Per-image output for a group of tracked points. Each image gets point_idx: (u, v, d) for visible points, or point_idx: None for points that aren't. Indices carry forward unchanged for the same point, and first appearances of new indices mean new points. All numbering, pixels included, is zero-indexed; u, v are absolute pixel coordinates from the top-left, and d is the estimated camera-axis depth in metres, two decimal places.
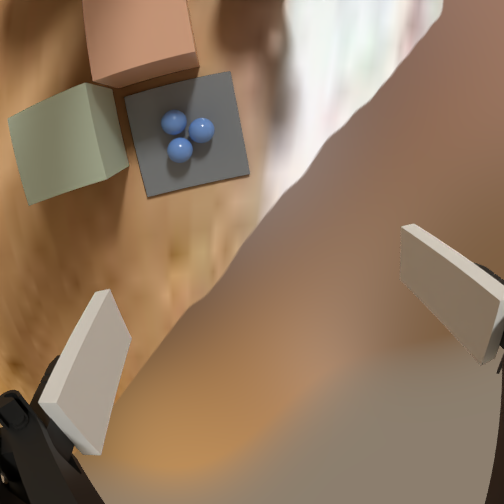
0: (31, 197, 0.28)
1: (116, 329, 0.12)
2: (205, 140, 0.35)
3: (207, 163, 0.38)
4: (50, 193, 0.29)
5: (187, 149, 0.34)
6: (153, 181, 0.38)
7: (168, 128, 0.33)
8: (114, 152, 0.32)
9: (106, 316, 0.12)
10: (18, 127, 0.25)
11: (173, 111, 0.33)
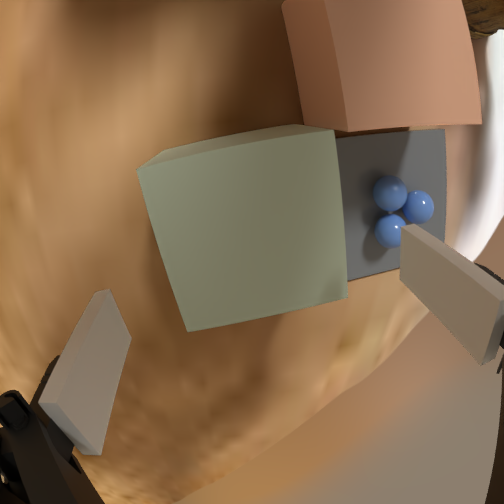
0: (195, 320, 0.19)
1: (116, 329, 0.12)
2: (424, 222, 0.25)
3: None
4: (238, 316, 0.19)
5: None
6: None
7: (391, 205, 0.24)
8: None
9: (106, 315, 0.12)
10: (168, 192, 0.16)
11: (397, 180, 0.23)
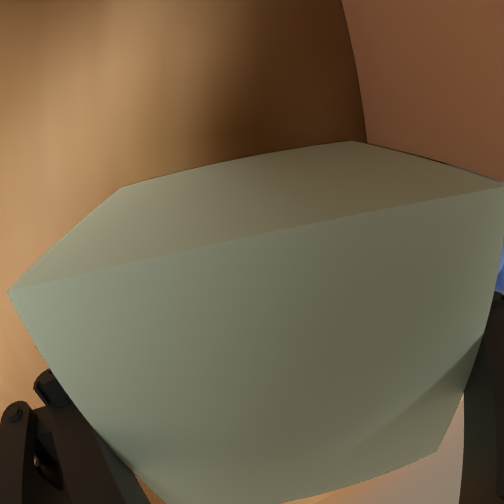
0: None
1: None
2: None
3: None
4: (263, 501, 0.09)
5: None
6: None
7: None
8: None
9: None
10: (91, 350, 0.05)
11: None
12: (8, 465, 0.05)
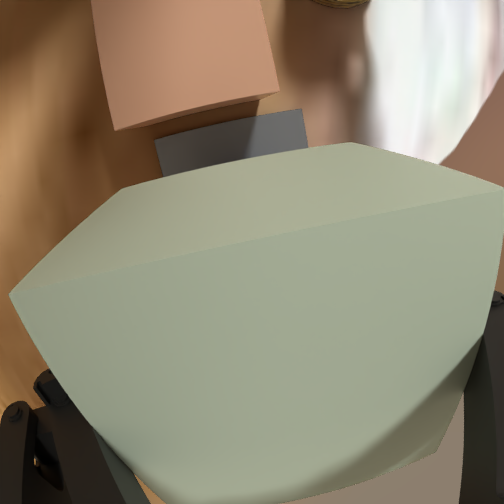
0: None
1: None
2: None
3: None
4: (263, 502, 0.09)
5: None
6: None
7: None
8: None
9: None
10: (92, 352, 0.05)
11: None
12: (8, 465, 0.05)
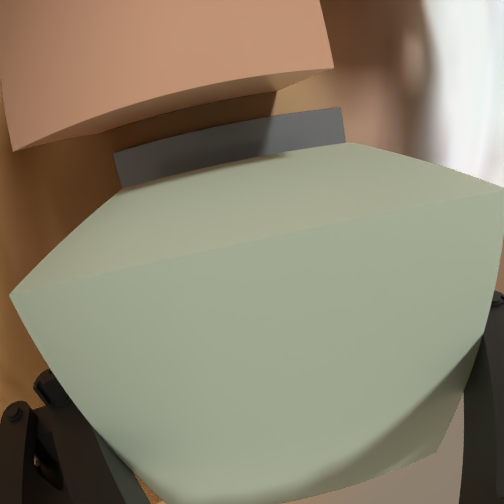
0: None
1: None
2: None
3: None
4: (263, 502, 0.09)
5: None
6: None
7: None
8: None
9: None
10: (92, 353, 0.05)
11: None
12: (8, 465, 0.05)
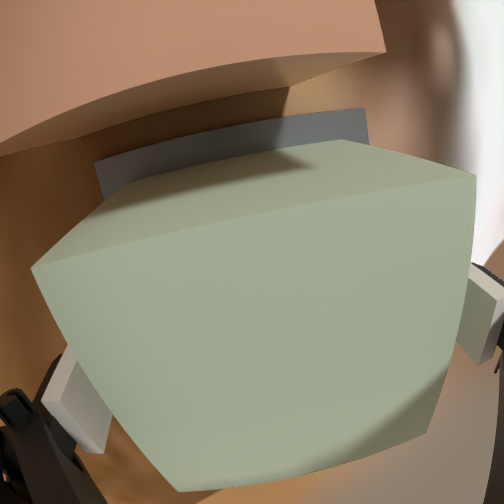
0: (188, 483, 0.10)
1: None
2: None
3: None
4: (259, 478, 0.10)
5: None
6: None
7: None
8: None
9: None
10: (104, 320, 0.06)
11: None
12: None
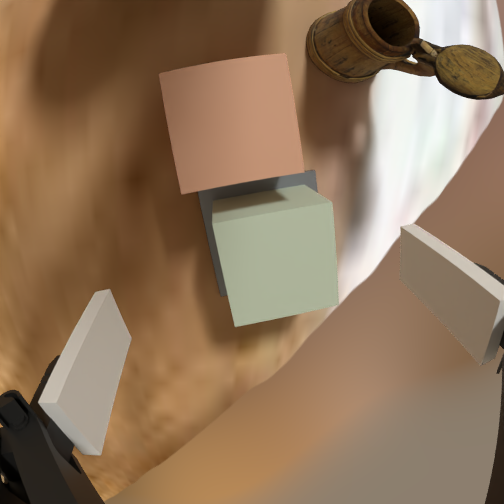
0: (240, 318, 0.30)
1: (116, 329, 0.12)
2: None
3: None
4: (269, 316, 0.30)
5: None
6: None
7: None
8: None
9: (106, 315, 0.12)
10: (231, 238, 0.27)
11: None
12: None
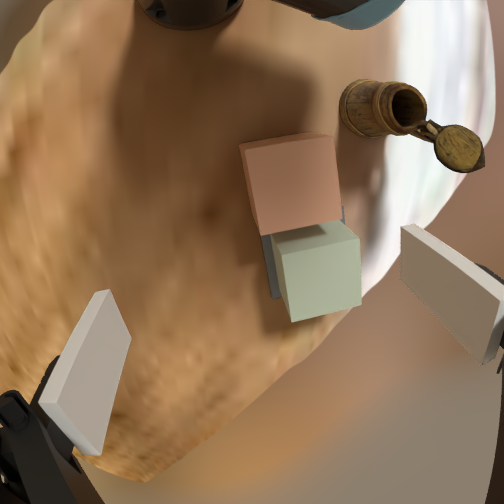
0: (296, 316, 0.43)
1: (116, 329, 0.12)
2: None
3: None
4: (315, 314, 0.43)
5: None
6: (278, 288, 0.51)
7: None
8: None
9: (106, 315, 0.12)
10: (293, 264, 0.40)
11: None
12: None
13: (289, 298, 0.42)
